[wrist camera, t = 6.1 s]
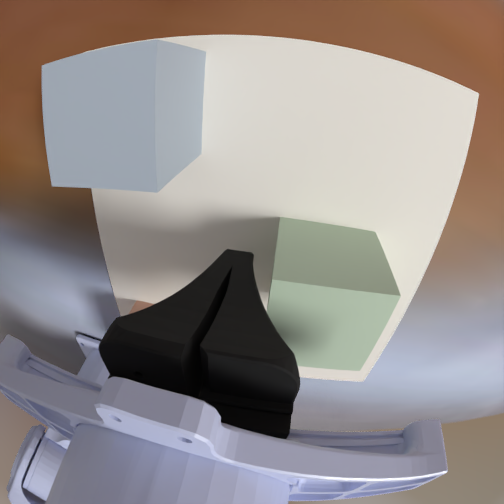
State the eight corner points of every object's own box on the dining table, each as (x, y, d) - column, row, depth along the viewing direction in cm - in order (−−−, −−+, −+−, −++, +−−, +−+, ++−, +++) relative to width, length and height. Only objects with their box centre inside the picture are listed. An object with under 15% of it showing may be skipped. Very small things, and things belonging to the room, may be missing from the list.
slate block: (201, 153, 12) (157, 192, 8) (113, 151, 12) (52, 186, 9) (206, 51, 9) (157, 39, 6) (111, 60, 10) (41, 65, 6)
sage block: (350, 303, 15) (359, 371, 12) (269, 292, 16) (258, 360, 12) (375, 231, 13) (400, 295, 9) (280, 216, 13) (272, 279, 9)
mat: (362, 378, 20) (363, 381, 19) (131, 341, 21) (130, 344, 21) (475, 92, 8) (479, 93, 8) (87, 52, 10) (83, 52, 9)
